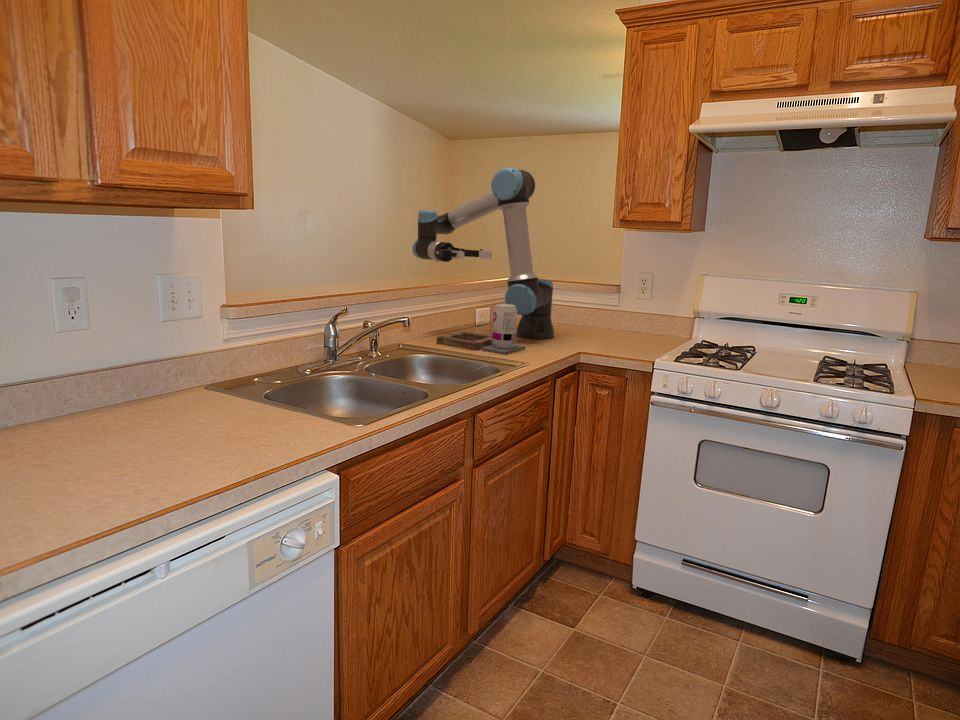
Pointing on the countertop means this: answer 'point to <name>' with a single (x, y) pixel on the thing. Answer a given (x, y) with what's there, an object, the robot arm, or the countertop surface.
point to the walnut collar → (465, 340)
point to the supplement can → (504, 326)
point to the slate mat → (502, 351)
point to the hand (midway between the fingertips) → (477, 255)
